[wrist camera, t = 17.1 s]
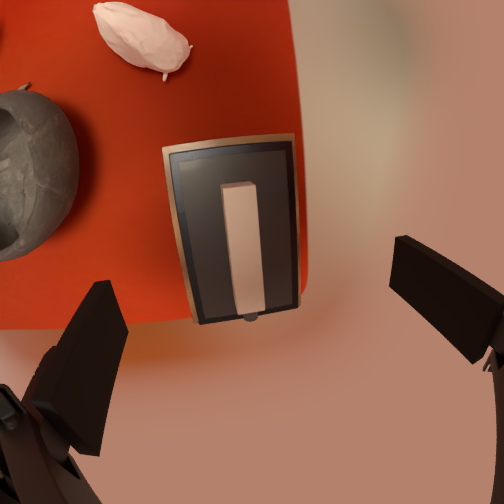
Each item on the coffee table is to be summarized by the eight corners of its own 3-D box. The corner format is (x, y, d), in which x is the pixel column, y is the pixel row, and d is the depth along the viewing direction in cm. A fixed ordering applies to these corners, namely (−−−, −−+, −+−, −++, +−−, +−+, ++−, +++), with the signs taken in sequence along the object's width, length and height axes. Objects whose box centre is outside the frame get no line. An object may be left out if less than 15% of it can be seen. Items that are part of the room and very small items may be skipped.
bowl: (76, 71, 19) (27, 45, 9) (118, 199, 25) (78, 229, 15) (-16, 142, 18) (-71, 151, 9) (22, 252, 24) (-25, 292, 15)
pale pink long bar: (220, 184, 16) (222, 188, 14) (250, 180, 16) (255, 184, 15) (236, 312, 19) (239, 327, 18) (260, 308, 20) (266, 322, 18)
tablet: (169, 153, 16) (168, 153, 15) (287, 140, 17) (293, 140, 16) (199, 317, 20) (199, 326, 19) (294, 301, 21) (299, 309, 20)
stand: (174, 147, 24) (161, 146, 16) (264, 137, 25) (294, 132, 17) (194, 273, 29) (193, 323, 21) (273, 261, 30) (300, 305, 22)
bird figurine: (100, 58, 20) (170, 88, 21) (73, 23, 13) (153, 45, 14) (130, 26, 20) (203, 52, 21) (112, -12, 13) (197, 6, 14)
